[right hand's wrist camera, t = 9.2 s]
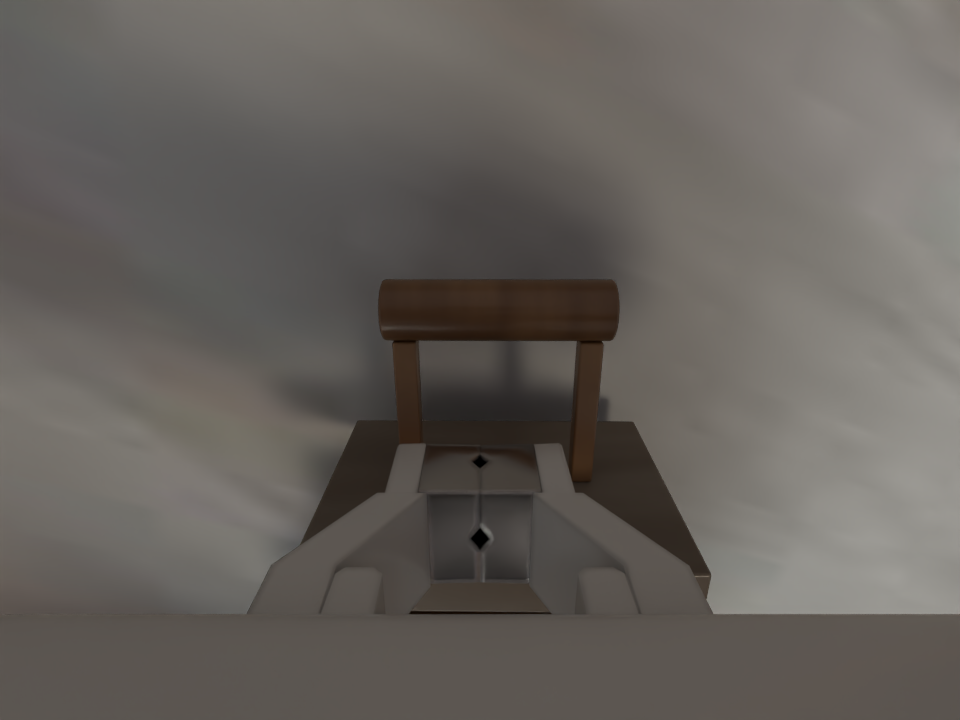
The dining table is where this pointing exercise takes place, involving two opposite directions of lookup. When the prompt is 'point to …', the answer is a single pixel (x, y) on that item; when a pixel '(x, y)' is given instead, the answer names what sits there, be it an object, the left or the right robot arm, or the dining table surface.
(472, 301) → the drawer
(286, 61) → the dining table surface
